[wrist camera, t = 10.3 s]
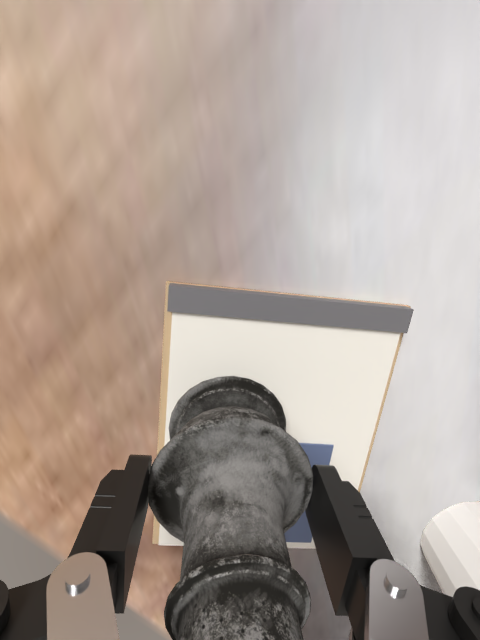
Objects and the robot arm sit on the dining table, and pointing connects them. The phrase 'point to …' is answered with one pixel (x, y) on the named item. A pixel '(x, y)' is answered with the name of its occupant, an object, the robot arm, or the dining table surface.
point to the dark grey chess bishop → (232, 513)
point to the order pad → (287, 368)
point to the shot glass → (454, 546)
